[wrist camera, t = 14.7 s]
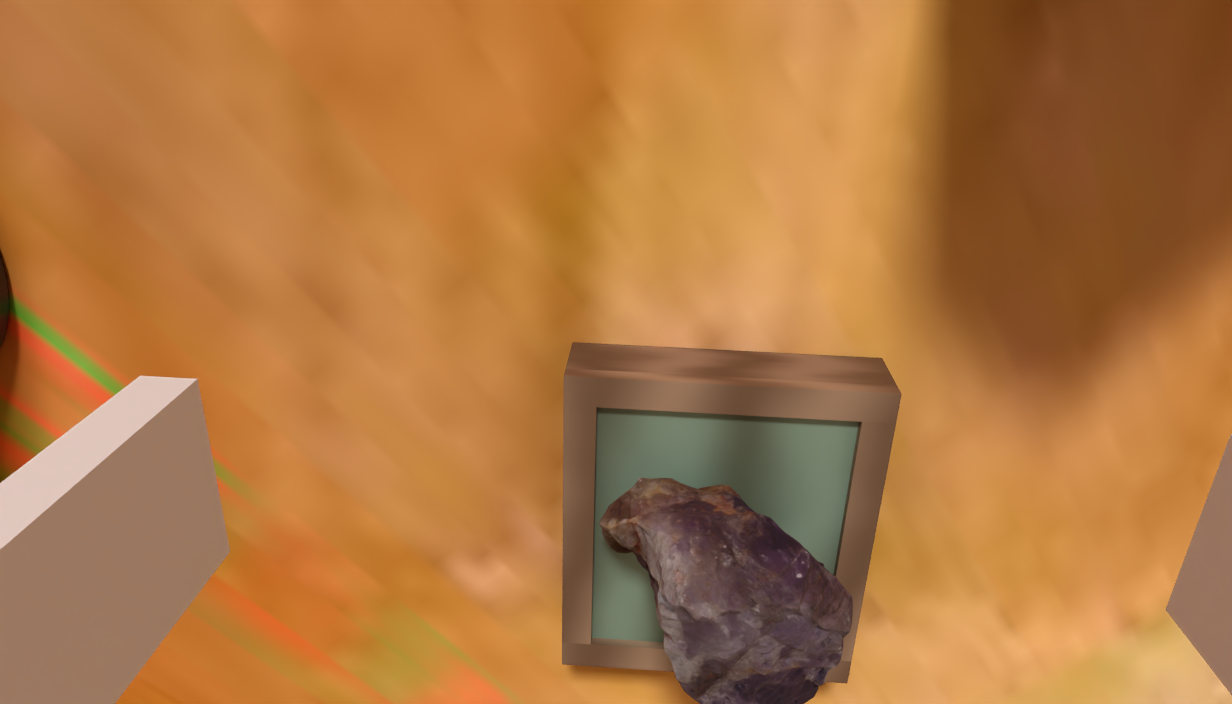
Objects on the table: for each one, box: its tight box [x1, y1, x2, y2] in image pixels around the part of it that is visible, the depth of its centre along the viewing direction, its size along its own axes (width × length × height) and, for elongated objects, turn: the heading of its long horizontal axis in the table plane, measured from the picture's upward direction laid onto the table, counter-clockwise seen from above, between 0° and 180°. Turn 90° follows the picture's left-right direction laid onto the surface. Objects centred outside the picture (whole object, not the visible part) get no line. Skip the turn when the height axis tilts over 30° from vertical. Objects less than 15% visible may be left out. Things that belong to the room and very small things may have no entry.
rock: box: [599, 477, 853, 704], centre depth 38 cm, size 12×9×10 cm
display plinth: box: [562, 342, 901, 683], centre depth 43 cm, size 15×17×4 cm
